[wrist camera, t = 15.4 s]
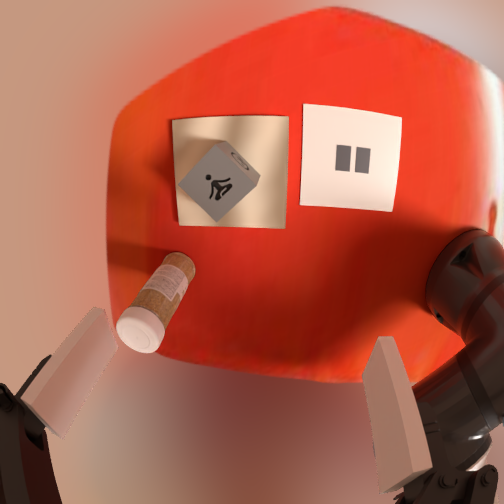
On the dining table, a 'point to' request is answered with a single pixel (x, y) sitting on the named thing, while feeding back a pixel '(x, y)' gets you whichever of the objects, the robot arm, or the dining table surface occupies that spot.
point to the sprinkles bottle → (156, 304)
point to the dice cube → (220, 180)
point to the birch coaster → (252, 150)
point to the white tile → (349, 158)
